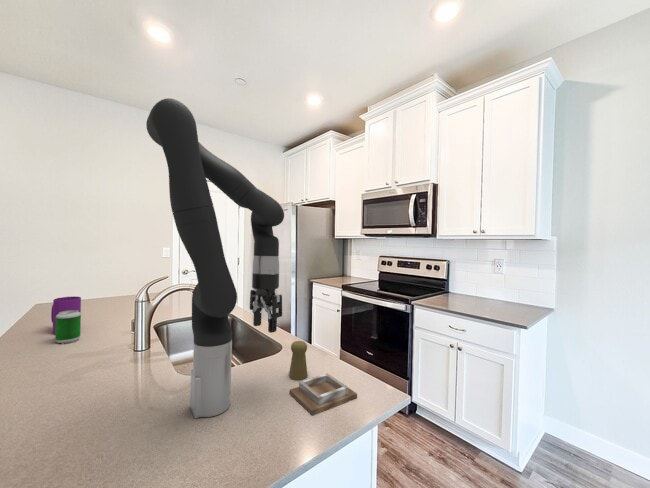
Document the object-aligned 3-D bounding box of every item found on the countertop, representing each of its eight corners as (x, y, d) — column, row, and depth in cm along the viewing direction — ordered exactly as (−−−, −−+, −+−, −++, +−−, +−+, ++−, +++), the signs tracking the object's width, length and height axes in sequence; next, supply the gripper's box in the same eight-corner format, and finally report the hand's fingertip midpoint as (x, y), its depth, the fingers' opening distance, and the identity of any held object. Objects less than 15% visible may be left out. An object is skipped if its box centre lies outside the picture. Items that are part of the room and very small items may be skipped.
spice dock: (312, 415, 71) (312, 402, 71) (289, 393, 81) (289, 382, 81) (357, 397, 80) (357, 386, 80) (331, 380, 90) (331, 370, 90)
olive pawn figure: (304, 381, 88) (305, 346, 88) (286, 379, 90) (287, 344, 90) (309, 372, 94) (310, 339, 94) (292, 370, 96) (293, 338, 95)
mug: (59, 336, 121) (60, 301, 121) (39, 331, 127) (40, 297, 127) (84, 330, 130) (85, 297, 130) (64, 325, 135) (65, 294, 135)
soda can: (83, 340, 117) (83, 311, 117) (58, 346, 111) (59, 315, 111) (76, 336, 121) (76, 308, 121) (52, 341, 115) (53, 312, 115)
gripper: (242, 270, 85) (241, 325, 84) (267, 274, 74) (265, 337, 74) (265, 270, 90) (263, 322, 89) (291, 273, 79) (289, 332, 79)
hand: (264, 328), depth 81 cm, fingers open, 8 cm apart
